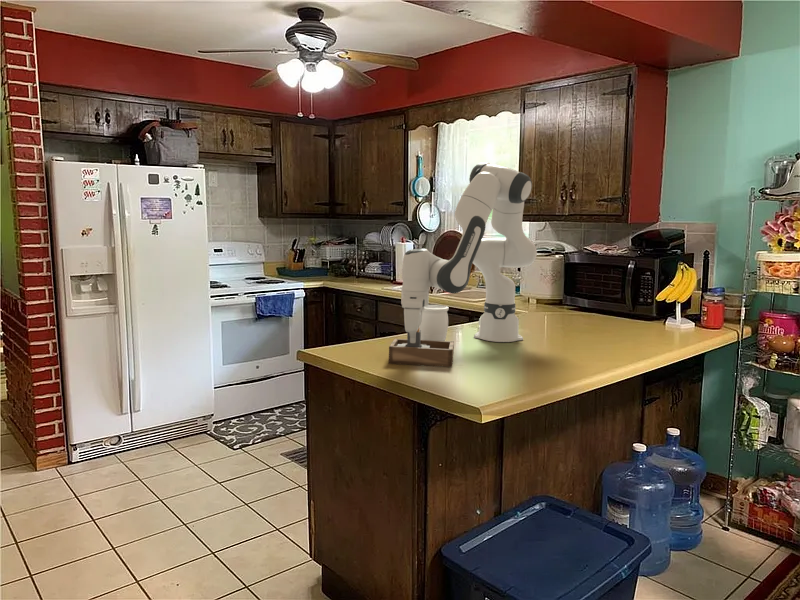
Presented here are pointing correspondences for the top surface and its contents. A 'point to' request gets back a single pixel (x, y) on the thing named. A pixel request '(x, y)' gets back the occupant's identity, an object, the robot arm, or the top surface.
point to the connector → (418, 339)
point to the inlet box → (422, 353)
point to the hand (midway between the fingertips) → (413, 341)
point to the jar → (434, 323)
